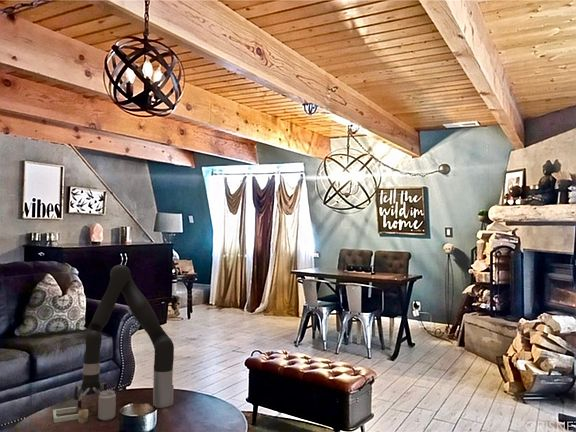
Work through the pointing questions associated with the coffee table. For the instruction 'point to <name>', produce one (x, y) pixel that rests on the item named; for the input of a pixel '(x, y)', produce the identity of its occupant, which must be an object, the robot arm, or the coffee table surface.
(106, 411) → the pale grey jar
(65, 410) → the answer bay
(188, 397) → the coffee table surface
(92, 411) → the walnut block
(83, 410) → the cork cylinder
